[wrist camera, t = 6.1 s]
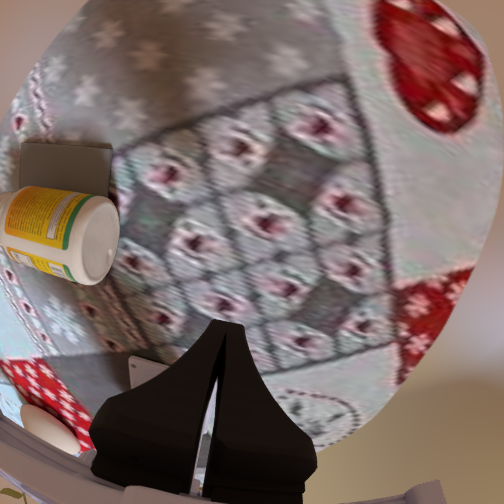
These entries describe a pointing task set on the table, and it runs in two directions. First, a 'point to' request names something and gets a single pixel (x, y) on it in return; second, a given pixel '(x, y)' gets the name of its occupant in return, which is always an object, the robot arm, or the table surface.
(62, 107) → the table surface
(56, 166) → the mat
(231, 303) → the table surface
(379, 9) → the table surface
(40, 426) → the flower in vase
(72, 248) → the supplement bottle
